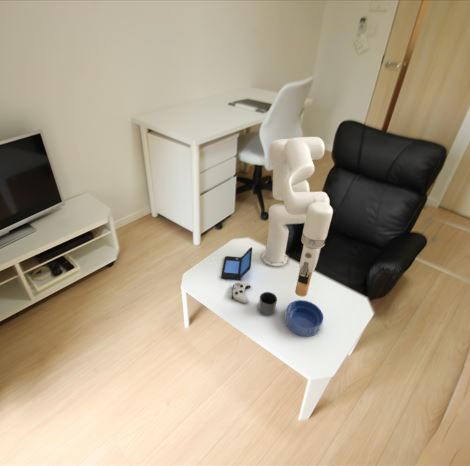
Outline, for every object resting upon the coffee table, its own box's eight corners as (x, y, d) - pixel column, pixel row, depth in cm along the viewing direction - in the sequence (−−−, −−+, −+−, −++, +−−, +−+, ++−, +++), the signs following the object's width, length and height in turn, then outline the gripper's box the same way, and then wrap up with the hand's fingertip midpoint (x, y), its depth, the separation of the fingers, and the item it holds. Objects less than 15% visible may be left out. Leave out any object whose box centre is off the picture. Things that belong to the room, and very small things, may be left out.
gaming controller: (249, 303, 134) (238, 294, 132) (238, 309, 138) (228, 299, 136) (252, 285, 143) (241, 275, 141) (241, 290, 146) (231, 281, 144)
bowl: (289, 304, 135) (291, 295, 132) (323, 316, 130) (326, 307, 126) (280, 329, 125) (282, 320, 122) (316, 343, 120) (319, 334, 117)
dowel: (296, 286, 121) (301, 263, 114) (308, 290, 120) (314, 267, 112) (293, 294, 118) (298, 270, 111) (305, 298, 116) (311, 274, 109)
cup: (261, 301, 137) (263, 289, 133) (277, 306, 134) (279, 295, 130) (256, 312, 132) (257, 301, 128) (272, 318, 129) (274, 307, 125)
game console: (224, 257, 160) (225, 243, 155) (251, 260, 158) (252, 246, 153) (220, 279, 148) (220, 264, 142) (249, 282, 146) (250, 267, 140)
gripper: (320, 256, 96) (309, 297, 107) (330, 227, 108) (319, 267, 119) (295, 249, 99) (287, 289, 110) (308, 222, 111) (299, 261, 122)
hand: (304, 277), depth 114 cm, fingers closed on dowel, 4 cm apart
